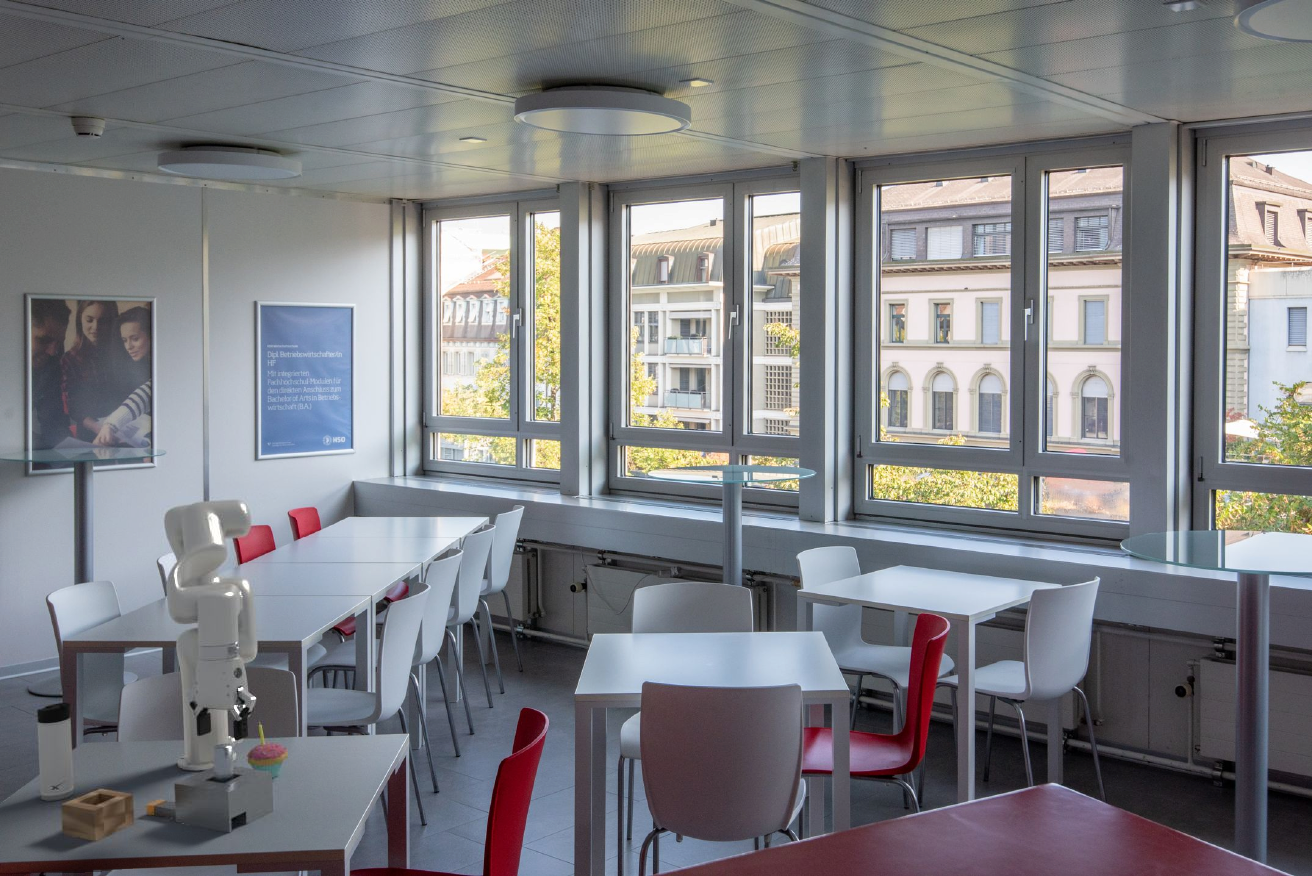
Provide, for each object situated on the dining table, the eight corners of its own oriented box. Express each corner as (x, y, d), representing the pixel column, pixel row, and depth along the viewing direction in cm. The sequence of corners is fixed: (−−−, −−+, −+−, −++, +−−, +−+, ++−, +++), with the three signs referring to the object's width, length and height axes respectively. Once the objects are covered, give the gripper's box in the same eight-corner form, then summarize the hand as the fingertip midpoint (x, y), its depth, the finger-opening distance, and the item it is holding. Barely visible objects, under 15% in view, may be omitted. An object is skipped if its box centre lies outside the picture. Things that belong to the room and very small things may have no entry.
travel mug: (61, 802, 236) (56, 708, 235) (33, 800, 237) (29, 707, 236) (81, 791, 242) (77, 700, 241) (55, 789, 243) (51, 699, 242)
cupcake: (239, 779, 248) (237, 726, 247) (266, 767, 255) (264, 715, 255) (270, 784, 244) (268, 730, 244) (296, 771, 252) (294, 719, 252)
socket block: (221, 801, 234) (219, 764, 234) (273, 810, 229) (271, 772, 229) (176, 822, 223) (174, 783, 223) (229, 832, 218) (228, 792, 218)
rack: (101, 817, 227) (100, 788, 227) (134, 823, 223) (132, 794, 223) (62, 834, 219) (61, 804, 218) (95, 841, 215) (94, 810, 215)
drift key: (159, 809, 231) (159, 799, 231) (218, 819, 224) (218, 809, 224) (146, 814, 228) (146, 804, 228) (206, 825, 221) (205, 815, 221)
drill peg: (224, 795, 228) (223, 742, 228) (238, 798, 227) (236, 744, 226) (211, 801, 225) (209, 747, 225) (224, 804, 224) (222, 749, 223)
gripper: (266, 650, 224) (269, 735, 225) (201, 645, 231) (204, 727, 232) (238, 658, 218) (241, 745, 218) (172, 653, 224) (175, 737, 225)
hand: (222, 736), depth 225 cm, fingers open, 9 cm apart
